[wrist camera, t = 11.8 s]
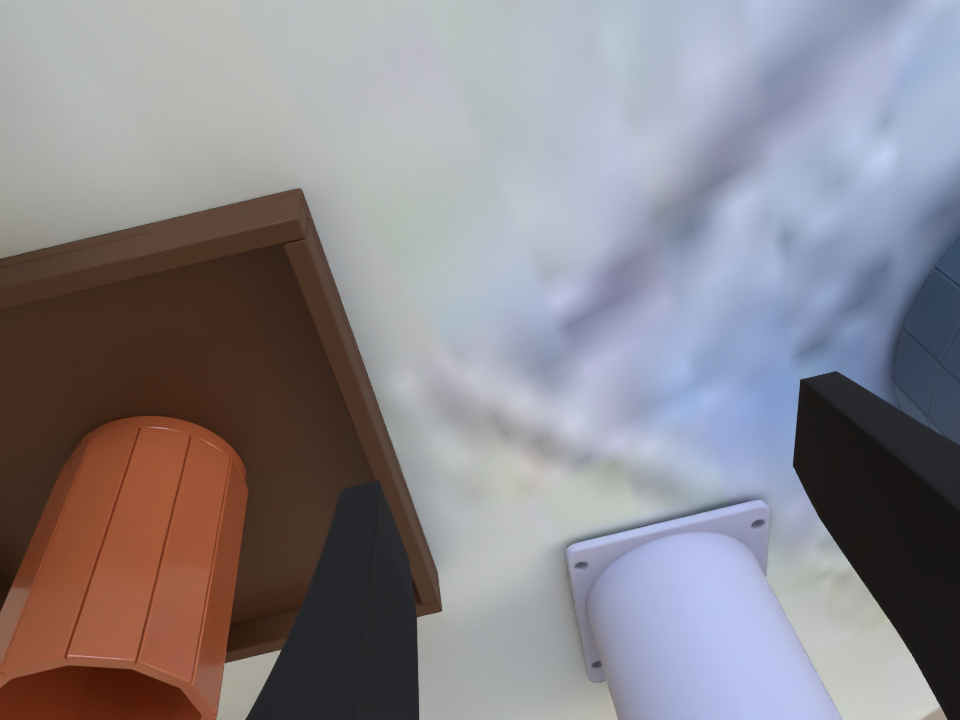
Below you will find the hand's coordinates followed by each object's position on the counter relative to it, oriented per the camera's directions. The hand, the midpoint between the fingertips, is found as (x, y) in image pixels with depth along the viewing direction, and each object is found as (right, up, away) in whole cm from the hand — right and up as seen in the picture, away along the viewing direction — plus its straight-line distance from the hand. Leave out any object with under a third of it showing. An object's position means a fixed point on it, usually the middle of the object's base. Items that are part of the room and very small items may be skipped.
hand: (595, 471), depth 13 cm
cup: (-12, -2, +11) cm, 16 cm away
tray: (-12, -2, +12) cm, 17 cm away
